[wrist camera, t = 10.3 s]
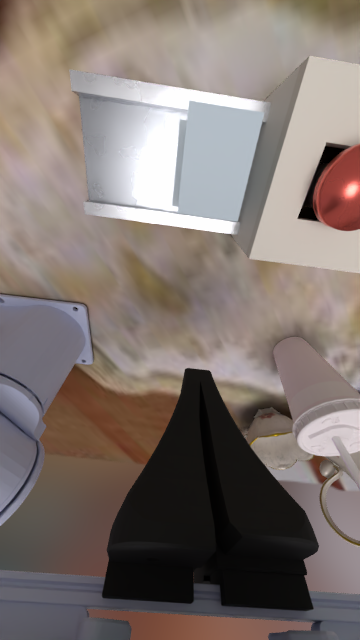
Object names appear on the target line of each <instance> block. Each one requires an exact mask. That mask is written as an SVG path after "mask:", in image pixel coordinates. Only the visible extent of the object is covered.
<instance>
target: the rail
mask: <svg viewBox="0 0 360 640" xmlns="http://www.w3.org/2000/svg"><path fill="white" fill-rule="evenodd" d="M70 79H71V88H72V91H73V92H74V93H75V94H77V95H78V96H79V99H80V110H81V120H82V131H83V142H84V152H85V163H86V174H87V184H88V195H89V200H87V201H84V211H85V214H88V215H95V216H103V217H110V218H117V219H125V220H132V221H139V222H147V223H154V224H161V225H169V226H176V227H184V228H191V229H198V230H206V231H213V232H220V233H228V234H235V235H238V232H239V228H240V224H241V223H240V222H239V221H238V222H236V221H229V220H221V219H214V218H207V217H200V216H193V215H185V214H178V213H177V211H178V207H176V206H172V200H173V190H174V179H175V168H176V157H177V146H178V135H179V124H180V119H182V120H187V115H188V106H189V100H191V101H197V102H203V103H209V104H215V105H221V106H227V107H234V108H240V109H246V110H252V111H258V112H264V117H263V121H262V125H263V124H265V123H266V122H267V118H268V115H269V111H270V107H271V103H268V102H262V101H256V100H250V99H244V98H238V97H232V96H226V95H220V94H214V93H208V92H202V91H196V90H190V89H184V88H178V87H172V86H166V85H160V84H154V83H148V82H142V81H136V80H130V79H124V78H118V77H112V76H106V75H100V74H94V73H88V72H81V71H75V70H70ZM262 125H261V126H262ZM260 130H261V129H260ZM259 134H260V133H259ZM258 138H259V137H258ZM257 142H258V141H257ZM256 146H257V145H256ZM255 150H256V149H255ZM254 154H255V153H254ZM253 158H254V157H253ZM252 162H253V161H252ZM251 166H252V165H251ZM250 170H251V169H250ZM249 174H250V173H249ZM248 178H249V177H248ZM247 182H248V181H247ZM241 207H242V206H241ZM240 211H241V210H240ZM239 215H240V214H239ZM238 219H239V218H238Z"/></svg>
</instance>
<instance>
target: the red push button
mask: <svg viewBox="0 0 360 640" xmlns="http://www.w3.org/2000/svg"><path fill="white" fill-rule="evenodd" d="M302 206H305V207H309V208H313V209H314V212H315V215H316V217H317V218H318V220H319V221H320V222H321V223H323V224H324V225H326V226H329V227H331V228H334V229H337V230H341V231H354V230H358V229H360V143H359V144H356V145H353V146H351V147H349V148H347V149H345V150H344V151H342V152H341V153H340V154H338V155H337V156H336V157H335V158H334V159H333V160H332V161H331V162H330V163H325V164H318V166H317V169H316V171H315V174H314V176H313V179H312V182H311V184H310V187H309V189H308V192H307V195H306V197H305V200H304V203H303V205H302Z"/></svg>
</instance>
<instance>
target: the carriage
mask: <svg viewBox="0 0 360 640" xmlns="http://www.w3.org/2000/svg"><path fill="white" fill-rule="evenodd" d="M263 117H264V112H258V111H252V110H246V109H240V108H234V107H227V106H221V105H215V104H209V103H203V102H197V101H191V100H189V106H188V115H187V120H182V119H180V124H179V135H178V146H177V157H176V168H175V179H174V190H173V200H172V206H176V207H178V211H177V213H178V214H185V215H193V216H200V217H207V218H214V219H221V220H229V221H236V222H238V218H239V214H240V210H241V206H242V202H243V198H244V194H245V190H246V186H247V181H248V177H249V173H250V169H251V165H252V161H253V157H254V153H255V149H256V145H257V141H258V137H259V133H260V129H261V125H262V121H263Z"/></svg>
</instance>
